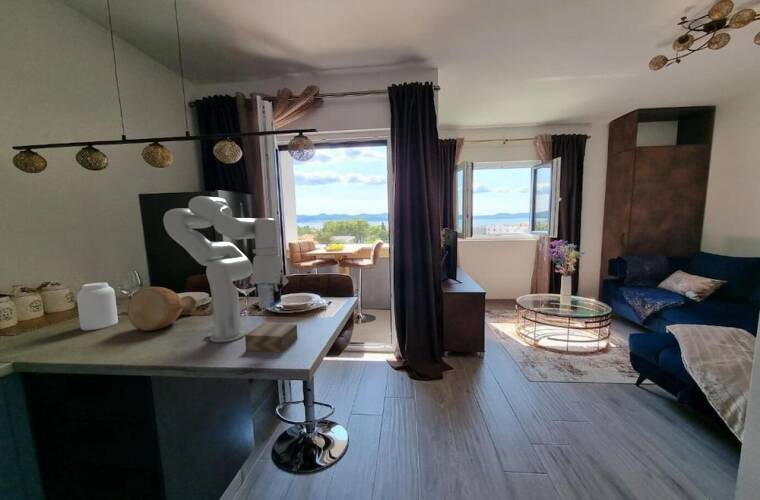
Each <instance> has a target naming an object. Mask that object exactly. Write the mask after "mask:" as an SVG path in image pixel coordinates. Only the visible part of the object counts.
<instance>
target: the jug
mask: <svg viewBox="0 0 760 500" xmlns="http://www.w3.org/2000/svg"><path fill="white" fill-rule="evenodd" d="M197 306H198V304H197V301H196V298H195V297H193V296H191V295H185V296H182V297H180V296H179V295H178V294H177V292H175V291H173V290H171V289H169V288H166V287H163V286H161V287H160V286H149V287H145V288H142V289H140V290H139V291H137V292H135V294H134V295H132V296H131V298H130V300H129V302H128V305H127V317H128V320H129V321H130V323H131V324H132V326H133V327H134V328H136V329H138V330H139V331H140V330H141V331H145V332H146V331H147V332H148V331H150V332H151V331H156V330H160V329H163V328H165V327H167V326H169V325H170V324H173V322H175V321H176V320H177V319H178V317H179V316H180V315H181V314H182V315H191V314H193V313H194V312H195V311H196V310H197Z"/></svg>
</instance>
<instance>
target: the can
mask: <svg viewBox="0 0 760 500" xmlns="http://www.w3.org/2000/svg"><path fill="white" fill-rule="evenodd" d="M116 300H117V298H116V291H115V289H114V288H113V287H112V286H110V285H109V283H108V282H105V281H103V282H91V283H87V284H83V285H81V290H79V291H78V292H77V294H76V302H77V309H78V311H77V312H78V317H79V318H78V319H79V326H80V329H81V330H82V331H93V330H100V329H101V330H102V329H105V328H109V327H112V326H114V325H116V324H118V322H119V317H118V310H117V309H118V308H117V302H116Z"/></svg>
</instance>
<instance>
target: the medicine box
mask: <svg viewBox="0 0 760 500" xmlns="http://www.w3.org/2000/svg"><path fill="white" fill-rule="evenodd" d="M257 287H258V291H257V297H258V307H259V308H261V309H262V308H263V309H264V308H265V309H271V308H272V307H274V306H277V305H279V304H280V303H281V302H282V297H281V298H280V300H279V301H278V302H274V291H275V288H274V285H273V284H258V285H257ZM281 290H282V289H281ZM281 290H280V295H281V296H282V293H281Z"/></svg>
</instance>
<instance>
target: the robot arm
mask: <svg viewBox="0 0 760 500" xmlns="http://www.w3.org/2000/svg"><path fill="white" fill-rule="evenodd" d="M228 203H229V202H227V201H226V200H225V199H224V198H221V197H220V196H219V197H218V196H205V195H198V196H195V197H194V196H193V198H191V199H190V200H189V202H188V207H187V208H183V207H181V208H179V207H178V208H172V209H169V210H167V211H166V212H165V213H164V216H163V226H164V228H165V229H164V230H165V231H166V232H167V234H168V236H170V238H171V239H173V241H175V242H176V243H178V244H179V245H180V246H182V248H184V250H185V251H187V253H189V255H190V256H191V257H192V258H194V260H195V261H196V262H197V263H198V264H200V265H201V266H204V267H205V266H206V270H205V273H206V278H207V280H208V283H209V289H210V295H211V296H210V298H211V305H212V306H211V307H212V317H213V325H208V326H207V329H206V333H211V335H210V342H213V343H228V342H232V341H235V340H238V339H241V338H243V337H245V335H246V334H247V333H246V330H245V329H244V328H242V323H241V309H240V297H239V290H238V288H237V287H236V285H235V284H234V282H235V281H240V280H244V279H247V278H249V277H250V276H251V274H252V277H251V279H250V280H249V283H250V284H251V285H252V286H253V287H255V289H257V292H258V287H257V285H258V284H273V285H274V288H275V291H274V302H278V301H279V300H280V298H281V299H282V294H281V295H280V290H282V289H283V288H284V287H285V285H287V284H288V283H289V279H287V277H286V275H284V267H283V261H282V258H281V255H280V254H279V246H278V245H279V242H278V228H277V227H278V226H277V221H276V219H275V218H270V217H269V218H268V217H267V218H265V217H259V218H257V217H256V218H255V217H253V218H252V217H250V218H249V217H233V212H232V211H233V210H232V209H231V208H230V206H229V204H228ZM212 226H213V227H214V228H213V229H215V231H216V232H217V233H218V234H219V235H220V234H221V235H222V236H225V237H226V238H229V239H233V240H245V239H247V240H249V239H250V240H251V239H254V240H255V249H252V253H254V254H255V256H254V257H253V261H252V262H251V261H250V259H249V258H248V257H247V256H246V254H244V253H243V252H242V251H241V250H240V249H239V248H238V247H237V246H236V245H235V244H233V243H232V242H229V241H225V240H224V241H210V240H209V239H208V238H206V236H204V234H202V233H201V232H199V231H198V230H195V229H207V228H210V227H212Z"/></svg>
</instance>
